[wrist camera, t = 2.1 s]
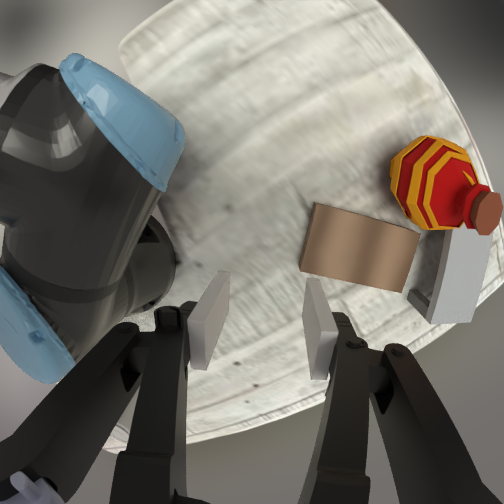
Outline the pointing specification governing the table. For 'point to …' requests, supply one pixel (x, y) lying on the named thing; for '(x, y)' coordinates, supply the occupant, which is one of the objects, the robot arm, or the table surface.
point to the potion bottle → (442, 187)
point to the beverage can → (125, 421)
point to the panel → (357, 248)
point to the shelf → (456, 278)
